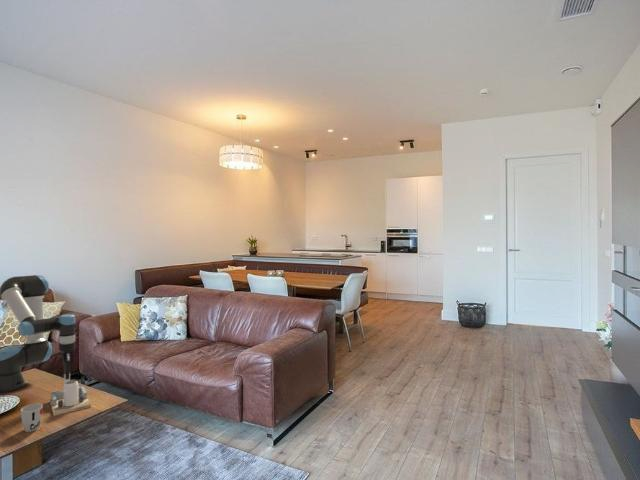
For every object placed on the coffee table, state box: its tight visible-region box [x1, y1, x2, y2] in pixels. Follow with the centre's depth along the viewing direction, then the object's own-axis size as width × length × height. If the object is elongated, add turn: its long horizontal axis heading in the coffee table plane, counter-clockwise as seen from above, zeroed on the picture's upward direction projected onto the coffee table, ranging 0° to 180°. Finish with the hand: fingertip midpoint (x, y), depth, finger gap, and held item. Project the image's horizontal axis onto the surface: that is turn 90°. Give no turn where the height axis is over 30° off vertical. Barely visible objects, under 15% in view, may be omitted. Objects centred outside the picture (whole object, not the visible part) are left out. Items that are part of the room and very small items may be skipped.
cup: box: [20, 403, 44, 433], centre depth 174 cm, size 8×8×10 cm
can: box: [63, 379, 79, 407], centre depth 196 cm, size 6×6×12 cm
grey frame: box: [50, 385, 88, 405], centre depth 203 cm, size 11×15×3 cm
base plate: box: [49, 393, 92, 417], centre depth 199 cm, size 20×16×4 cm
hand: (66, 384), depth 211 cm, fingers closed
